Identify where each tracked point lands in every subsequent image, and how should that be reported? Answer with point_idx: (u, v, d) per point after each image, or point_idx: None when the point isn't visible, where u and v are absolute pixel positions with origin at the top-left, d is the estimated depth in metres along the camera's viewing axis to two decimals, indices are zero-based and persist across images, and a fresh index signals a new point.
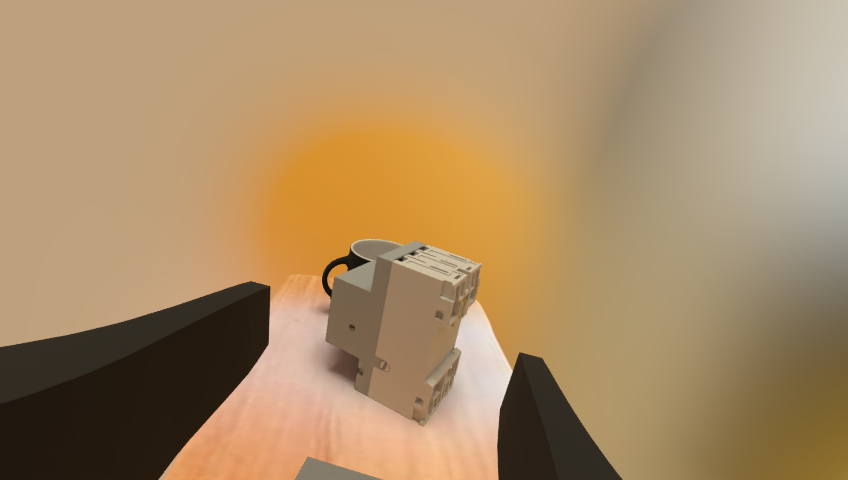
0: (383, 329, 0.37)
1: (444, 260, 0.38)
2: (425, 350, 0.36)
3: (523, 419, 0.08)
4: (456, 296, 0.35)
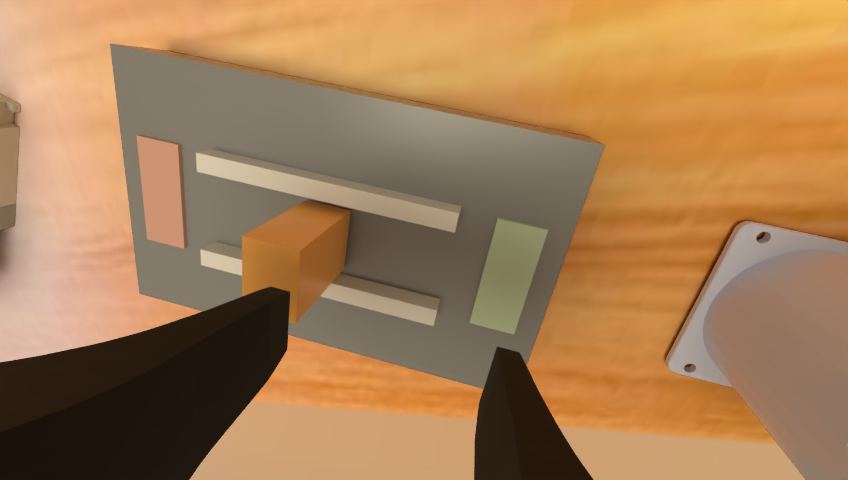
0: None
1: None
2: None
3: (496, 412, 0.09)
4: None
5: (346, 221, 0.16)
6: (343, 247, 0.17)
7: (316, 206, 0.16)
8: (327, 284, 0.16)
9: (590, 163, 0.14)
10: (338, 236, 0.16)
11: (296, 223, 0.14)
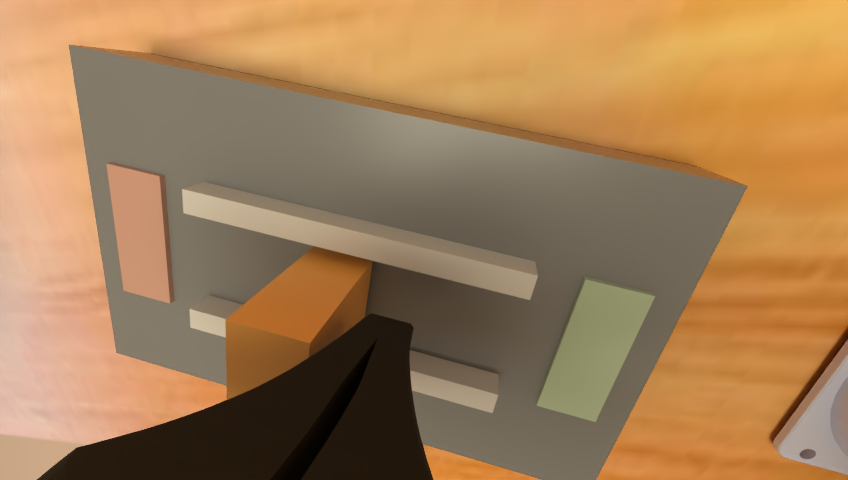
0: None
1: None
2: None
3: None
4: None
5: (367, 275, 0.12)
6: (363, 307, 0.13)
7: (327, 255, 0.12)
8: None
9: (723, 210, 0.10)
10: (358, 298, 0.12)
11: (303, 289, 0.10)
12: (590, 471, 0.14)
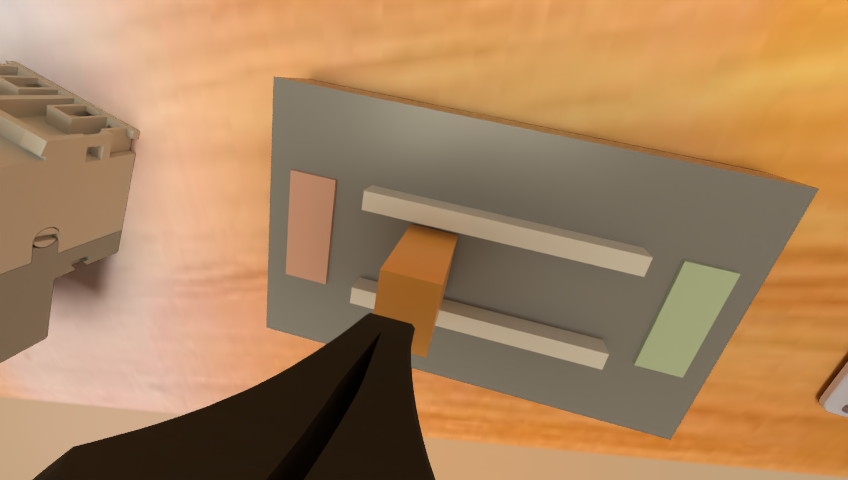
0: None
1: None
2: None
3: None
4: None
5: None
6: None
7: (424, 231, 0.16)
8: None
9: (798, 207, 0.14)
10: (450, 263, 0.15)
11: (419, 252, 0.14)
12: (673, 420, 0.17)
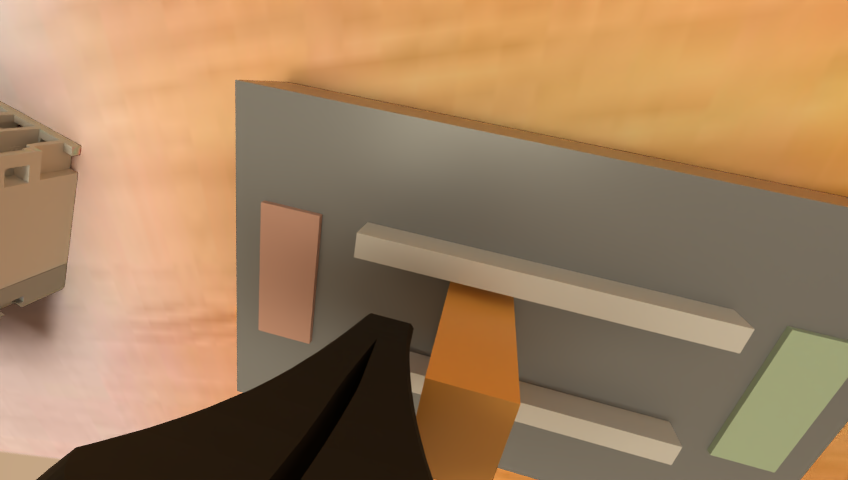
0: None
1: None
2: None
3: None
4: None
5: None
6: None
7: (469, 292, 0.12)
8: None
9: None
10: None
11: (472, 335, 0.10)
12: None
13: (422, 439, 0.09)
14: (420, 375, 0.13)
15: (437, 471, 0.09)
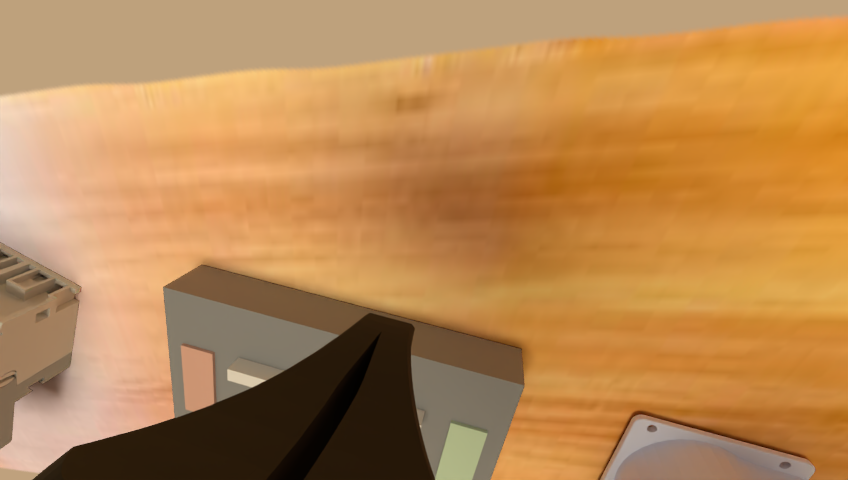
0: None
1: None
2: None
3: None
4: None
5: None
6: None
7: None
8: None
9: (515, 395, 0.20)
10: None
11: None
12: None
13: None
14: None
15: None
